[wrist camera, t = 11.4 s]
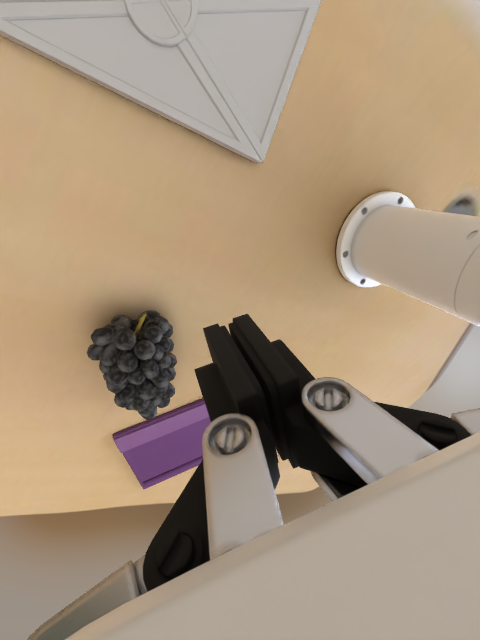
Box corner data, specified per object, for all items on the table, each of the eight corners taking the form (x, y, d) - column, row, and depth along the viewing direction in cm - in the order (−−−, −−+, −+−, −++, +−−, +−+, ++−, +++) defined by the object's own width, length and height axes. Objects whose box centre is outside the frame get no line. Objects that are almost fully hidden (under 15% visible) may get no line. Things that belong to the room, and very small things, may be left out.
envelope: (-21, -274, 17) (-40, 16, 21) (-39, -330, 15) (-56, 0, 19) (311, 5, 27) (255, 163, 31) (325, -8, 25) (263, 162, 30)
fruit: (176, 454, 33) (161, 336, 26) (99, 455, 33) (63, 336, 26) (186, 399, 41) (177, 296, 34) (124, 399, 40) (102, 295, 33)
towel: (251, 379, 44) (253, 383, 44) (262, 433, 50) (265, 437, 50) (112, 433, 40) (112, 439, 39) (143, 486, 46) (143, 491, 45)
